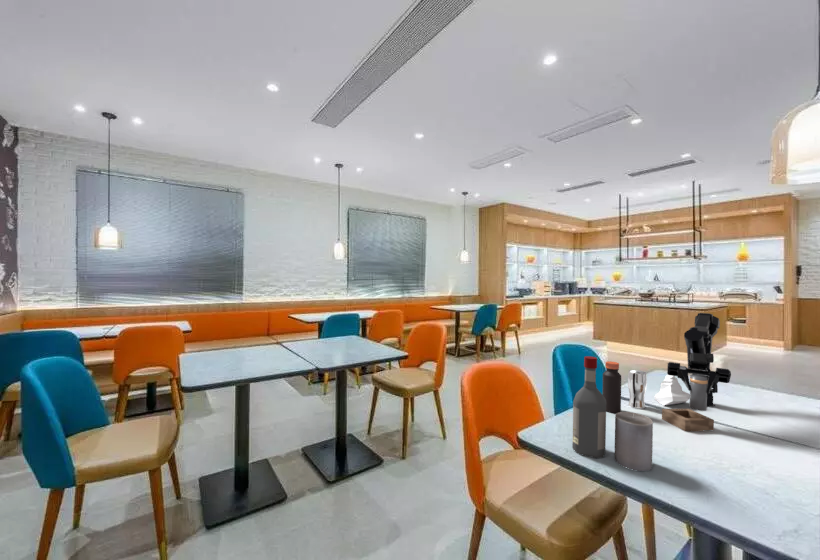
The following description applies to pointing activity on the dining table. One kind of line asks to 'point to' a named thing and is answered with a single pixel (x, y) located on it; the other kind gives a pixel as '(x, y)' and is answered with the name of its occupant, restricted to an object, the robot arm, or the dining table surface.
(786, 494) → the dining table surface
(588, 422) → the liquor
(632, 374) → the beer glass
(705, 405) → the charcoal peg
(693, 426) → the walnut socket block
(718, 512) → the dining table surface
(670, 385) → the soft serve ice cream
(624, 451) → the pillar candle
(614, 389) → the bottle
